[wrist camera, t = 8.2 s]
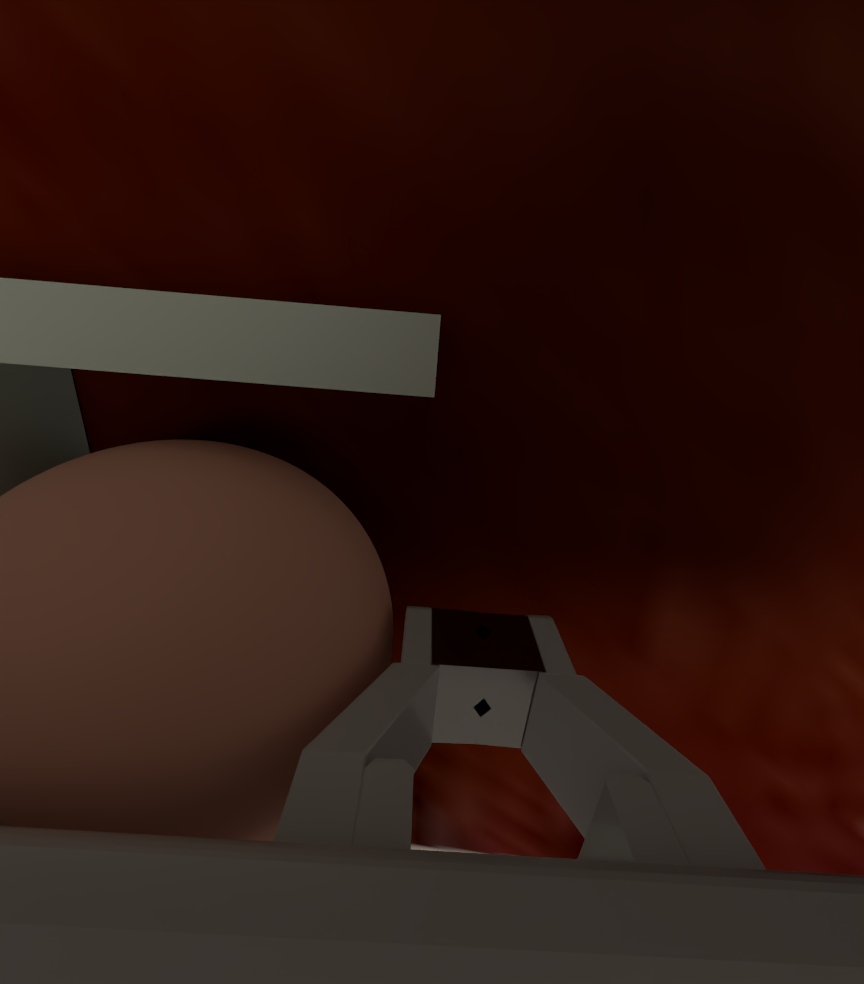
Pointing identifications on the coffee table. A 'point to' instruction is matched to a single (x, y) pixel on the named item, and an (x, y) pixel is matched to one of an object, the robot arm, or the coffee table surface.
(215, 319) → the mount bay
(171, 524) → the toy ball
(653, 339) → the coffee table surface
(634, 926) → the robot arm
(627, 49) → the coffee table surface
